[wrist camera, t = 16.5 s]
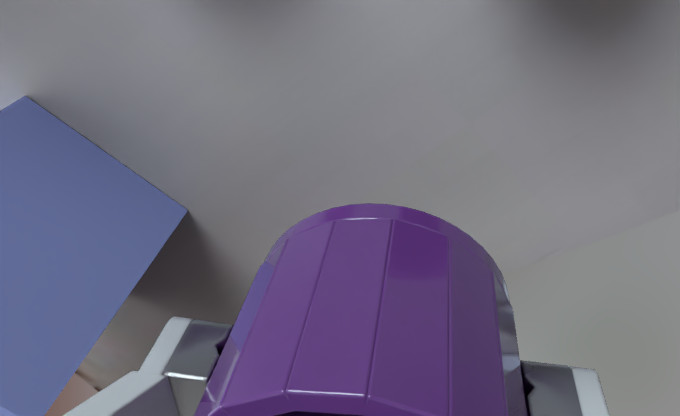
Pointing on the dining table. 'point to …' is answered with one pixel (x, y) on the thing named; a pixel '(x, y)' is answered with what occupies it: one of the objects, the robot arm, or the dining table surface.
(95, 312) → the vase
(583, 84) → the dining table surface
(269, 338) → the purple cup
